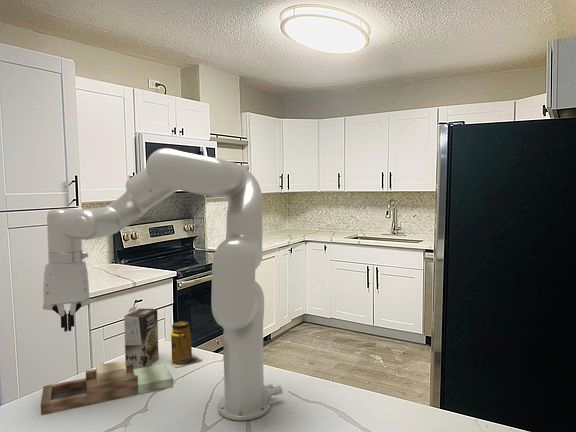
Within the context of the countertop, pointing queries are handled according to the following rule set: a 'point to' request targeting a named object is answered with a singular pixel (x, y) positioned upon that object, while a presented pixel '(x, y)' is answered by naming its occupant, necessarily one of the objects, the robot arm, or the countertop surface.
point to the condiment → (182, 345)
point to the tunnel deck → (104, 388)
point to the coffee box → (141, 338)
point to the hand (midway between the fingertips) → (67, 329)
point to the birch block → (110, 371)
